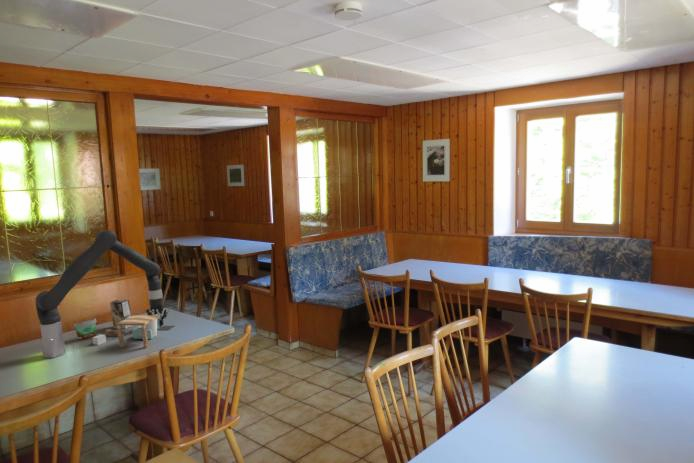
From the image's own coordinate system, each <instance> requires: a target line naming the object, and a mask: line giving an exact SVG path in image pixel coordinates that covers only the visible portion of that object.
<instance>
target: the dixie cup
mask: <svg viewBox="0 0 694 463" xmlns="http://www.w3.org/2000/svg"><path fill="white" fill-rule="evenodd" d="M146 329H150V330H152V334H153V338H154V337H157V335H158V330H157V319H155V320H153V321H152V322H150V323H148V324H146Z"/></svg>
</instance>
